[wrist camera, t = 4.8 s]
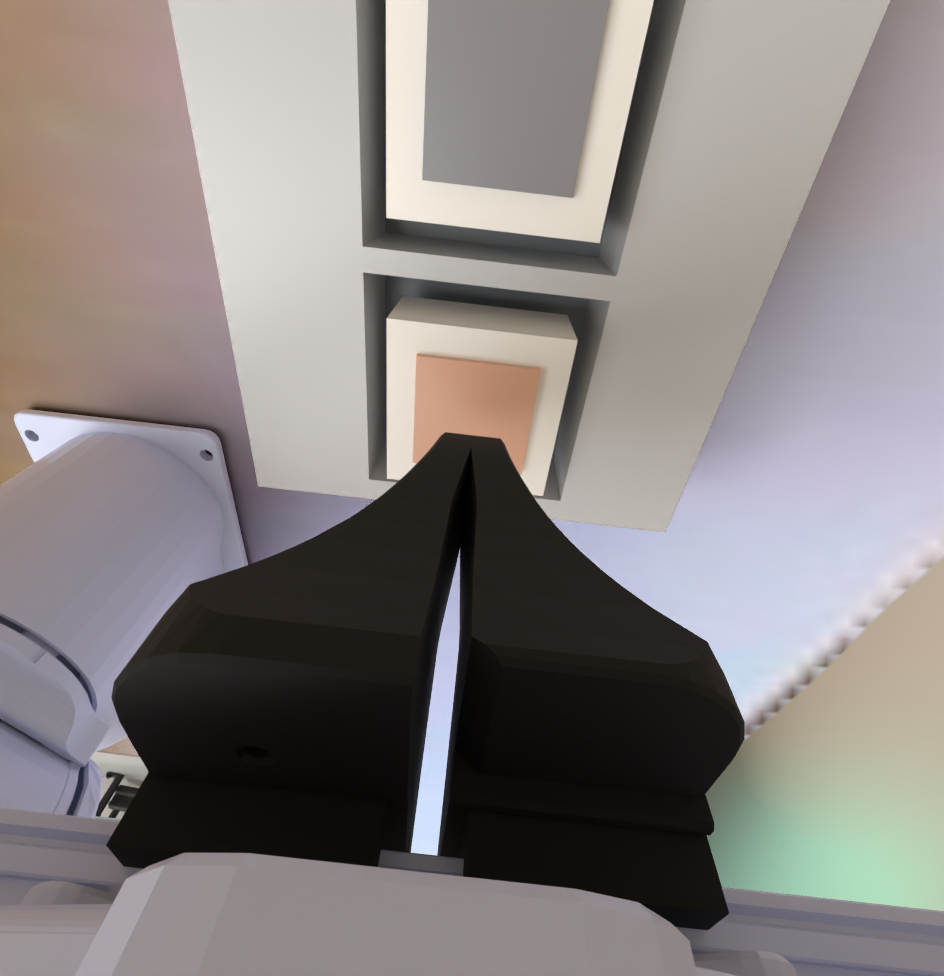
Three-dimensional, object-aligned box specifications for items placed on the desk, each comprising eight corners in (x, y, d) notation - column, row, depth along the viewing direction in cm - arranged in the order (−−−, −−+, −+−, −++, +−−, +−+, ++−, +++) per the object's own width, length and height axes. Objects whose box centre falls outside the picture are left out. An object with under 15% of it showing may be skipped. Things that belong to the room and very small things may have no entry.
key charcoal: (584, 230, 13) (601, 244, 11) (404, 208, 13) (384, 218, 11) (637, -28, 10) (673, -78, 8) (408, -57, 10) (383, -115, 8)
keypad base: (641, 475, 20) (665, 532, 17) (295, 436, 19) (258, 486, 16) (1084, -774, 7) (1502, -1447, 4) (130, -909, 7) (-149, -1706, 4)
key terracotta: (538, 456, 17) (543, 499, 15) (400, 440, 17) (385, 482, 15) (567, 314, 14) (578, 343, 12) (403, 295, 14) (384, 320, 12)
